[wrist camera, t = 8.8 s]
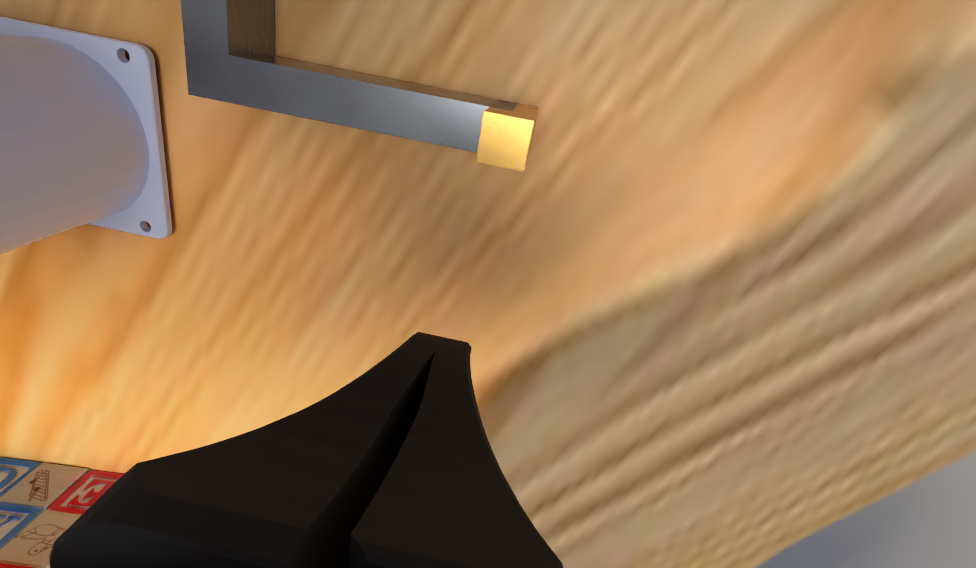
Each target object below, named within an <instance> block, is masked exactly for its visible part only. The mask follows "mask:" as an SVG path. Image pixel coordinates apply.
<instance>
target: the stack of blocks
mask: <svg viewBox="0 0 976 568" xmlns="http://www.w3.org/2000/svg"><path fill="white" fill-rule="evenodd" d="M123 475H124V474H121V473H114V472H105V471H97V470H89V469H87V468H80V467H72V466H64V465H57V464H49V463H41V462H35V461H28V460H19V459H10V458H2V457H1V458H0V568H50V559H49V556H50V553H51V550H52V547H53V544H54V541H56V540H57V539H58V538H59V537H60V536H61V535H62V534H63V533H64V532H65V531H66V530H67V529H68V528H69V527H70V526H71V525H72V524H73V523H74V522H75V521H76V520H77V519H78V518H79V517H80V516H81V515H82V514H83V513H84V512H85V511H86V510H87V509H88V508H89V507H90V506H91V505H92V504H93V503H94V502H95V501H96V500H97V499H98V498H99V497H100V496H101V495H102V494H103V493H104V492H105V491H106V490H107V489H108V488H110V487H111V486H112V485H113V484H114V483H115V482H116V481H117V480H118V479H119V478H121V477H122V476H123Z"/></svg>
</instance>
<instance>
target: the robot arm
mask: <svg viewBox="0 0 976 568" xmlns="http://www.w3.org/2000/svg"><path fill="white" fill-rule="evenodd" d="M125 50H127V52H128V53H129V56H130V60H129V61H128V60H127V59H126V57H125ZM146 222H148V223H149V224H150V226H151V228H149V227H148V226H147V223H146ZM85 224H91V225H95V226H100V227H105V228H109V229H114V230H119V231H123V232H128V233H133V234H138V235H142V236H147V237H152V238H156V239H163V238H165V237H168V236H170V235H171V233H172V220H171V211H170V201H169V192H168V182H167V173H166V163H165V154H164V144H163V135H162V125H161V116H160V106H159V97H158V87H157V78H156V68H155V60H154V56H153V54H152V52H151V51H150V49H149V48H147V47H146V46H145V45H142V44H139V43H133V42H128V41H123V40H118V39H113V38H108V37H103V36H98V35H93V34H88V33H83V32H78V31H73V30H68V29H63V28H58V27H53V26H48V25H43V24H38V23H33V22H28V21H23V20H17V19H12V18H7V17H2V16H0V254H2V253H5V252H8V251H11V250H14V249H16V248H19V247H22V246H25V245H28V244H31V243H33V242H36V241H39V240H42V239H45V238H48V237H51V236H53V235H56V234H59V233H62V232H65V231H68V230H70V229H73V228H76V227H79V226H82V225H85ZM470 353H471V346H470V345H469V344H468V343H467V342H463V341H458V340H453V339H449V338H444V337H439V336H435V335H430V334H425V333H421V332H418V333H416V334H414V335H413V336H412V337H410V338H409V339H408V340H407V341H406V342H405V343H403V344H402V345H401V346H400V347H399V348H397V349H396V350H395V351H394V352H392V353H391V354H390V355H389V356H387V357H386V358H385V359H383V360H382V361H381V362H379V363H378V364H377V365H375V366H374V367H373V368H371V369H370V370H368V371H367V372H366V373H364V374H363V375H361V376H360V377H358V378H357V379H355V380H354V381H352V382H350V383H349V384H347V385H346V386H344V387H343V388H341V389H340V390H338V391H336V392H335V393H333V394H331V395H330V396H328V397H326V398H324V399H322V400H321V401H319V402H317V403H315V404H313V405H311V406H309V407H307V408H305V409H303V410H301V411H299V412H297V413H294V414H292V415H289V416H287V417H285V418H282V419H280V420H278V421H275V422H273V423H271V424H268V425H266V426H263V427H261V428H258V429H256V430H253V431H250V432H247V433H244V434H242V435H239V436H236V437H233V438H230V439H227V440H223V441H220V442H217V443H214V444H211V445H207V446H204V447H200V448H197V449H193V450H189V451H185V452H181V453H177V454H173V455H169V456H165V457H161V458H157V459H153V460H149V461H145V462H140V463H137V464H136V465H134V466H133V467H132V468H131V469H130V470H129V471H128V472H126V473H125V474H124V475H123V476H122V477H121V478H119V479H118V480H117V481H116V482H115V483H114V484H113V485H112V486H111V487H110V488H108V489H107V490H106V491H105V492H104V493H103V494H102V495H101V496H100V497H99V498H98V499H97V500H96V501H95V502H94V503H93V504H92V505H91V506H90V507H89V508H88V509H87V510H86V511H85V512H84V513H83V514H82V515H81V516H80V517H79V518H78V519H77V520H76V521H75V522H74V523H73V524H72V525H71V526H70V527H69V528H68V529H67V530H66V531H65V532H64V533H63V534H62V535H61V536H60V537H59V538H58V539H57V540H56V541H54V544H53V547H52V550H51V553H50V556H49V559H50V568H563V566H562V563H561V561H560V560H559V559H558V557H557V556H556V555H555V554H554V552H553V551H552V550H551V548H550V547H549V546H548V545H547V543H546V542H545V541H544V539H543V538H542V537H541V535H540V534H539V533H538V531H537V530H536V528H535V527H534V525H533V524H532V522H531V521H530V519H529V518H528V516H527V515H526V513H525V512H524V510H523V509H522V507H521V505H520V504H519V502H518V500H517V498H516V496H515V495H514V493H513V491H512V489H511V488H510V486H509V484H508V482H507V480H506V479H505V477H504V475H503V473H502V471H501V469H500V467H499V465H498V462H497V460H496V458H495V456H494V454H493V451H492V449H491V446H490V444H489V441H488V439H487V436H486V433H485V430H484V427H483V425H482V421H481V418H480V415H479V411H478V407H477V403H476V399H475V395H474V390H473V385H472V379H471V370H470Z"/></svg>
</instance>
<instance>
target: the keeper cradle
mask: <svg viewBox="0 0 976 568" xmlns="http://www.w3.org/2000/svg"><path fill="white" fill-rule="evenodd" d="M181 6H182V19H183V31H184V44H185V56H186V69H187V81H188V93H189V95H194V96H199V97H204V98H209V99H214V100H219V101H224V102H229V103H234V104H239V105H244V106H248V107H253V108H258V109H263V110H268V111H273V112H278V113H283V114H288V115H293V116H298V117H303V118H308V119H313V120H318V121H323V122H328V123H333V124H338V125H343V126H348V127H353V128H358V129H363V130H368V131H373V132H378V133H383V134H388V135H393V136H398V137H402V138H407V139H412V140H417V141H422V142H427V143H432V144H437V145H442V146H447V147H452V148H457V149H462V150H467V151H472V152H477V157H476V162H479V163H484V164H489V165H494V166H499V167H504V168H508V169H513V170H518V171H523V172H524V168H525V165H526V161H527V157H528V153H529V149H530V145H531V140H532V135H533V130H534V126H535V121H536V116H537V111H538V108H537V107H532V106H527V105H522V104H517V103H512V102H507V101H502V100H497V99H492V98H487V97H482V96H476V95H471V94H466V93H461V92H456V91H451V90H446V89H441V88H436V87H431V86H426V85H421V84H416V83H411V82H405V81H400V80H395V79H390V78H385V77H380V76H375V75H370V74H365V73H360V72H355V71H350V70H345V69H340V68H334V67H329V66H324V65H319V64H314V63H309V62H304V61H299V60H294V59H289V58H284V57H279V56H275V1H274V0H181Z"/></svg>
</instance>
